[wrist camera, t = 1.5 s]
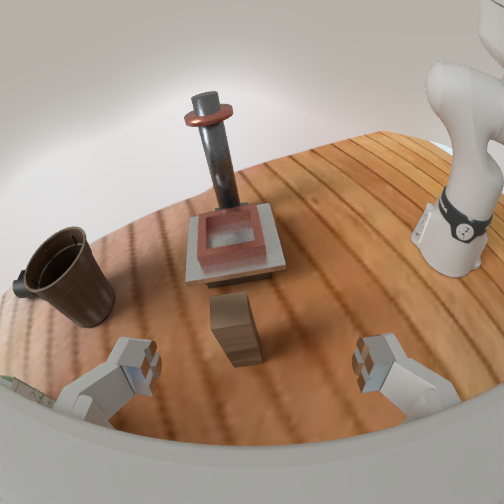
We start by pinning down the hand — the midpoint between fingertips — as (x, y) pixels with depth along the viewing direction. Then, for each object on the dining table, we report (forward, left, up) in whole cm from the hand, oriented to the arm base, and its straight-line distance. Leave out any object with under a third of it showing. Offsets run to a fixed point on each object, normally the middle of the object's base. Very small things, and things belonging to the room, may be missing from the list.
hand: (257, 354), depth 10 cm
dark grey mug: (+14, -68, -31) cm, 76 cm away
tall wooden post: (-7, -11, -31) cm, 34 cm away
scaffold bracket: (-26, -27, -31) cm, 48 cm away
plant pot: (+3, -45, -31) cm, 55 cm away
